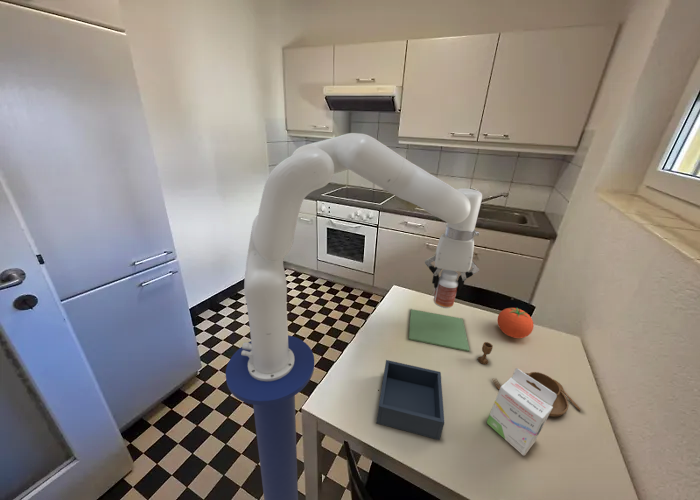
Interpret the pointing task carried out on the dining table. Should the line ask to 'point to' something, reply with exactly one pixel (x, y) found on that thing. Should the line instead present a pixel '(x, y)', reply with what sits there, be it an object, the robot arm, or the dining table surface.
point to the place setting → (561, 401)
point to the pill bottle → (446, 289)
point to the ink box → (521, 411)
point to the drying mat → (438, 330)
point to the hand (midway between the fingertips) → (446, 287)
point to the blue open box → (411, 400)
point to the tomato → (515, 322)
